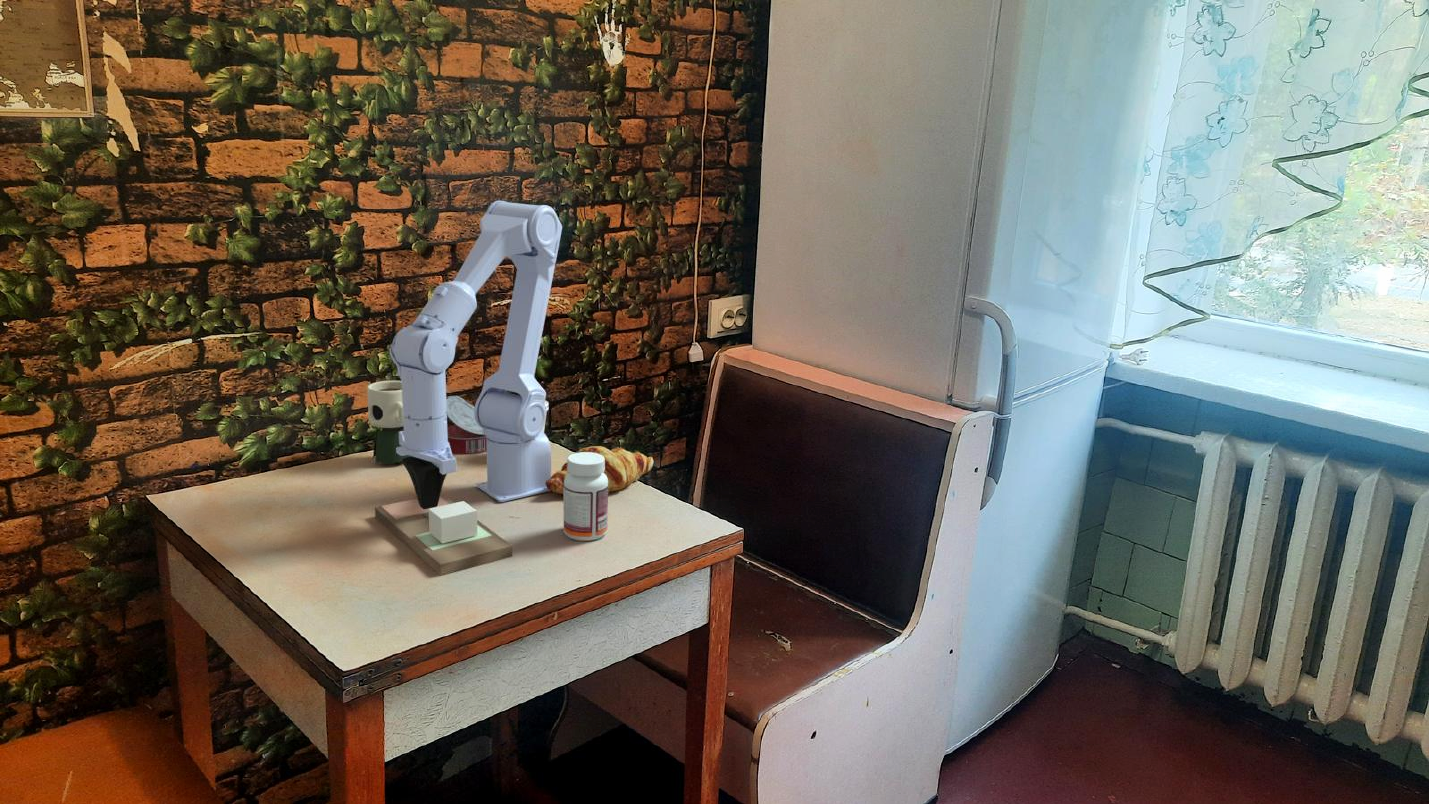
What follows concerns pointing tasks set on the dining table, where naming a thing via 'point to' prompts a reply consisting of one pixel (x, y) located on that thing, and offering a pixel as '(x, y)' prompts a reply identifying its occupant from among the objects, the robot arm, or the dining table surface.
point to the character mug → (386, 419)
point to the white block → (452, 522)
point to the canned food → (464, 428)
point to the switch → (443, 558)
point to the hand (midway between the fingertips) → (428, 506)
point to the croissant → (609, 468)
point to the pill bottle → (585, 497)
